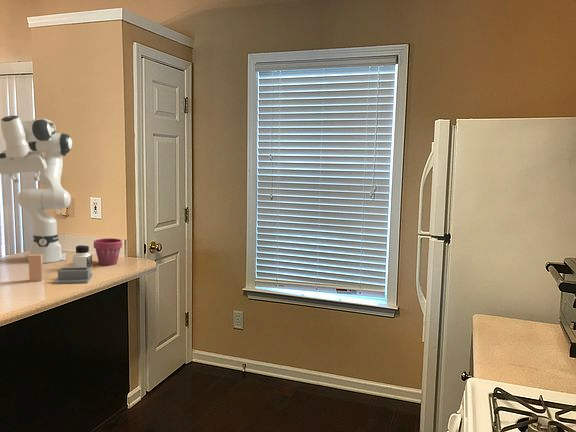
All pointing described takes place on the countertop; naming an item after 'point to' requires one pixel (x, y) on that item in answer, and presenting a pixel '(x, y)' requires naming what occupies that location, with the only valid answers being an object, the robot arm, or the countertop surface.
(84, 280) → the rack
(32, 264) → the tall tan pillar block
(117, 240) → the plant pot
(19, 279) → the countertop surface
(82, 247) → the medicine bottle
